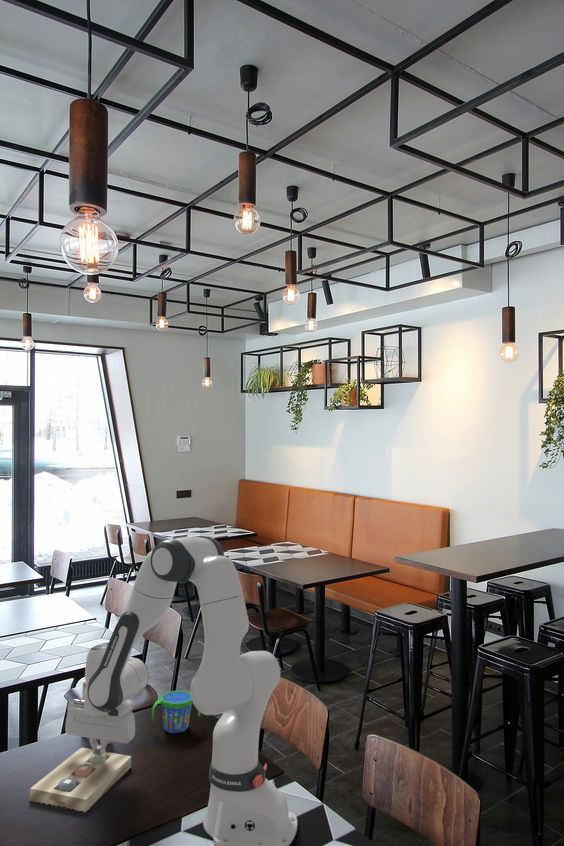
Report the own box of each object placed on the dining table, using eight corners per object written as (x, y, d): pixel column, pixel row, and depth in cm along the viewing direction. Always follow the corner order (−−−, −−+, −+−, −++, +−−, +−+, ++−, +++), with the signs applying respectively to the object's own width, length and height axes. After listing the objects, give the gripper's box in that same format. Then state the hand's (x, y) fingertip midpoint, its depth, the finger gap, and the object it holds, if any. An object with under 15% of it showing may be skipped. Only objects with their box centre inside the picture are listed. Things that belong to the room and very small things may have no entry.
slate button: (79, 793, 153) (79, 778, 154) (69, 802, 149) (69, 787, 150) (64, 790, 155) (65, 775, 155) (54, 799, 151) (55, 784, 151)
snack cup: (199, 720, 198) (200, 688, 198) (201, 735, 187) (202, 701, 188) (151, 723, 194) (152, 691, 195) (151, 738, 184) (152, 705, 184)
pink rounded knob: (94, 779, 160) (95, 764, 160) (85, 787, 156) (85, 772, 156) (80, 776, 161) (81, 762, 161) (71, 785, 157) (72, 770, 157)
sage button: (108, 766, 167) (109, 752, 167) (100, 774, 163) (100, 759, 163) (95, 763, 168) (95, 750, 168) (86, 771, 164) (87, 757, 164)
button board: (130, 767, 167) (131, 756, 167) (85, 812, 146) (85, 799, 146) (81, 758, 171) (81, 747, 172) (29, 800, 150) (30, 788, 150)
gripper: (61, 702, 166) (59, 753, 165) (127, 712, 161) (125, 764, 160) (74, 693, 172) (73, 743, 171) (138, 702, 167) (137, 753, 166)
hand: (98, 753), depth 165 cm, fingers closed
